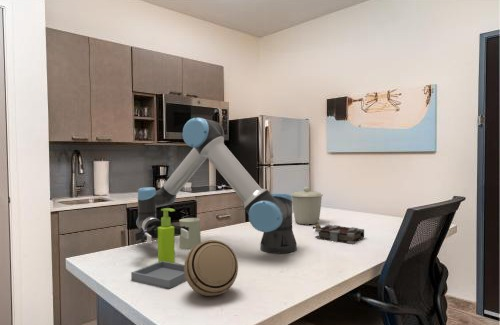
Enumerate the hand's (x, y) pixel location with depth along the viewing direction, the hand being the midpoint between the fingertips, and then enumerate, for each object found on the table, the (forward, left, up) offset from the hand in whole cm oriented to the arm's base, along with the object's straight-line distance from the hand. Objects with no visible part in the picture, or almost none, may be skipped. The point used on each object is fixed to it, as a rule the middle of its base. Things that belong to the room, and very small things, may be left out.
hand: (169, 237), depth 124 cm
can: (+11, -25, -10) cm, 29 cm away
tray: (-7, +10, -10) cm, 16 cm away
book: (-40, -67, -11) cm, 79 cm away
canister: (-17, -95, -10) cm, 97 cm away
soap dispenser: (+3, -2, -10) cm, 11 cm away
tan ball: (-28, +14, -10) cm, 33 cm away
